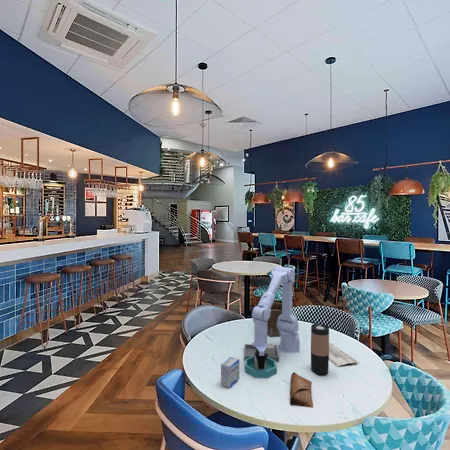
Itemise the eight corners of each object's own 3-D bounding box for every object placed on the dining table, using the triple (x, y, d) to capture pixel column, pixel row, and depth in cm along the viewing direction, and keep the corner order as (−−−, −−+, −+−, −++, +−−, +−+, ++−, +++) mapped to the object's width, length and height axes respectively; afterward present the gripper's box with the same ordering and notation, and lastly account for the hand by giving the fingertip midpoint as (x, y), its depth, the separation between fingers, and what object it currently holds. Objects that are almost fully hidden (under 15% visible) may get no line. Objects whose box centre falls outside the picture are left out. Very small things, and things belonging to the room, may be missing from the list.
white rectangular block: (265, 367, 128) (265, 356, 128) (265, 371, 124) (265, 360, 124) (254, 366, 129) (254, 356, 128) (254, 371, 125) (254, 360, 124)
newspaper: (361, 365, 132) (360, 360, 132) (337, 371, 130) (337, 365, 130) (332, 344, 154) (332, 340, 154) (312, 348, 152) (311, 344, 152)
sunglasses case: (314, 408, 101) (304, 390, 102) (297, 415, 102) (287, 398, 103) (311, 380, 118) (303, 366, 119) (296, 387, 120) (288, 372, 121)
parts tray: (276, 350, 146) (276, 345, 146) (279, 362, 133) (279, 357, 133) (244, 348, 147) (244, 344, 147) (244, 361, 134) (244, 356, 134)
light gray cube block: (271, 352, 142) (271, 343, 142) (274, 356, 138) (274, 347, 138) (263, 353, 142) (263, 344, 142) (266, 357, 138) (266, 348, 138)
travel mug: (319, 378, 121) (320, 331, 120) (306, 369, 127) (307, 325, 127) (332, 373, 124) (333, 328, 124) (319, 365, 131) (319, 322, 130)
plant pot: (259, 327, 178) (259, 301, 178) (286, 328, 176) (286, 302, 175) (259, 337, 162) (259, 309, 161) (288, 339, 159) (288, 310, 159)
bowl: (274, 363, 133) (274, 356, 133) (277, 379, 119) (277, 371, 119) (245, 362, 134) (245, 355, 134) (245, 378, 120) (245, 370, 120)
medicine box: (229, 388, 113) (230, 366, 113) (220, 385, 115) (220, 363, 115) (239, 379, 119) (239, 358, 119) (230, 376, 122) (230, 356, 122)
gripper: (251, 327, 134) (251, 356, 134) (252, 340, 119) (252, 372, 119) (266, 327, 133) (266, 356, 133) (269, 341, 119) (268, 373, 119)
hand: (260, 364), depth 126 cm, fingers open, 7 cm apart
